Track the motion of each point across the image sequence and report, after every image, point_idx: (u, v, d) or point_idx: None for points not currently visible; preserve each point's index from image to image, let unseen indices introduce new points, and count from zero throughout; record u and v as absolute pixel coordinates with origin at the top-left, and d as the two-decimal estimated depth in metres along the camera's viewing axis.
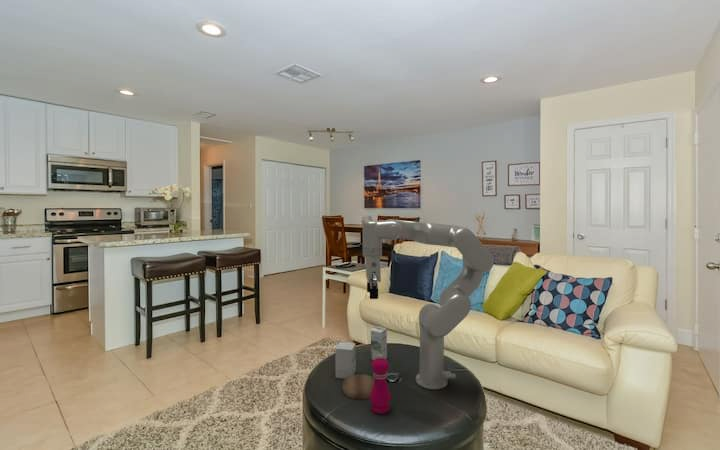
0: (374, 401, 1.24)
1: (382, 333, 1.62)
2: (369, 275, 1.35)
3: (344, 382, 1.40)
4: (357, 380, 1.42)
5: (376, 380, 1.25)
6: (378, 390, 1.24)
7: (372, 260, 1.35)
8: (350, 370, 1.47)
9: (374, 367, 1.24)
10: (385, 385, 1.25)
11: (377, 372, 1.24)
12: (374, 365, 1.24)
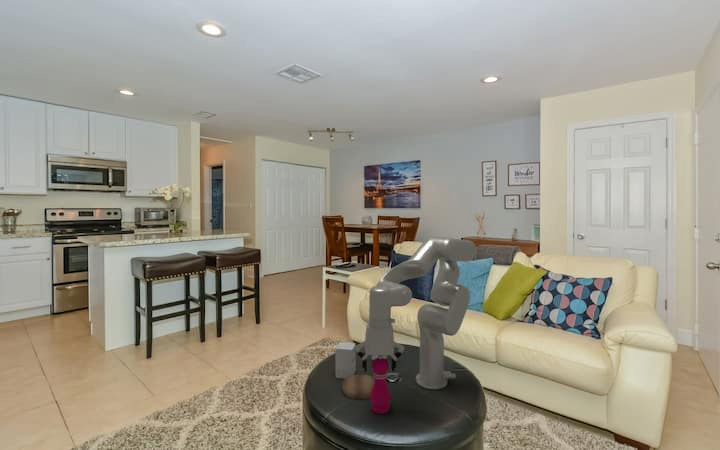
0: (374, 401, 1.24)
1: None
2: (393, 346, 1.23)
3: (344, 382, 1.40)
4: (357, 380, 1.42)
5: (376, 380, 1.25)
6: (378, 390, 1.24)
7: (392, 329, 1.24)
8: (350, 370, 1.47)
9: (374, 367, 1.24)
10: (385, 385, 1.25)
11: (377, 372, 1.24)
12: (374, 365, 1.24)
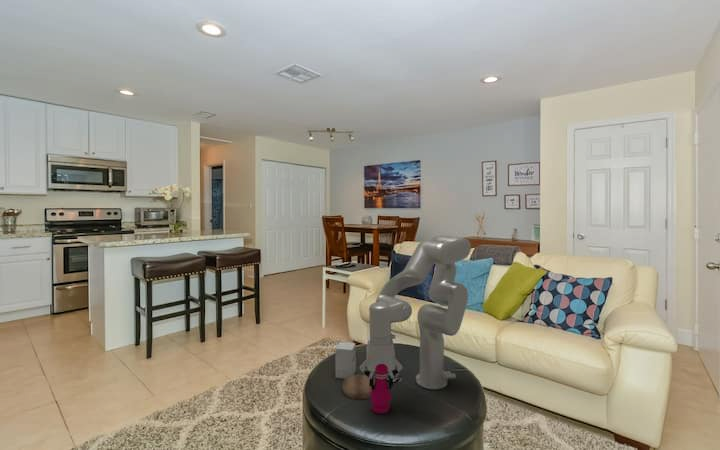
0: (374, 401, 1.24)
1: None
2: (395, 362, 1.24)
3: (344, 382, 1.40)
4: (357, 380, 1.42)
5: (377, 380, 1.25)
6: (378, 390, 1.24)
7: (393, 345, 1.25)
8: (350, 370, 1.47)
9: None
10: (385, 385, 1.25)
11: (378, 372, 1.24)
12: None
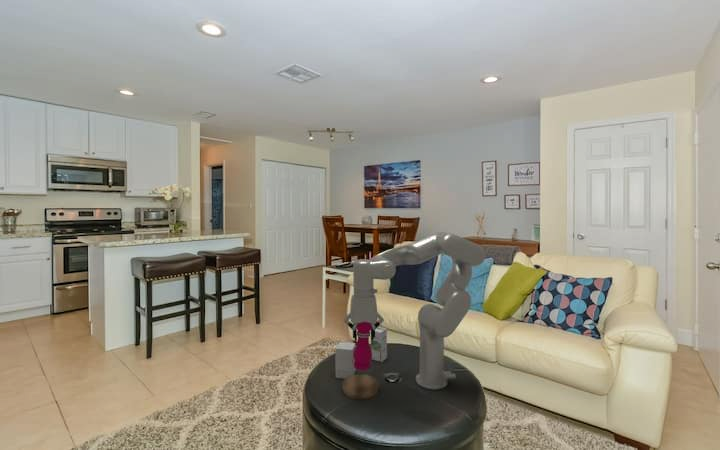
0: (356, 358, 1.33)
1: (382, 333, 1.62)
2: (376, 314, 1.33)
3: (344, 382, 1.40)
4: (357, 380, 1.42)
5: (359, 339, 1.34)
6: (360, 348, 1.33)
7: (375, 299, 1.34)
8: (350, 370, 1.47)
9: (358, 326, 1.33)
10: (367, 344, 1.34)
11: (361, 331, 1.32)
12: (358, 324, 1.33)
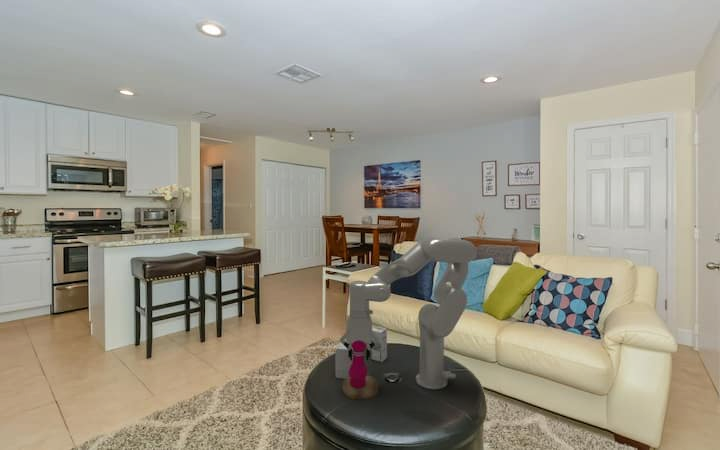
0: (352, 376, 1.36)
1: (382, 333, 1.62)
2: (371, 335, 1.36)
3: (344, 382, 1.40)
4: None
5: (354, 357, 1.37)
6: (355, 366, 1.36)
7: (371, 320, 1.37)
8: None
9: (353, 345, 1.36)
10: (362, 362, 1.37)
11: (355, 349, 1.36)
12: (353, 343, 1.36)
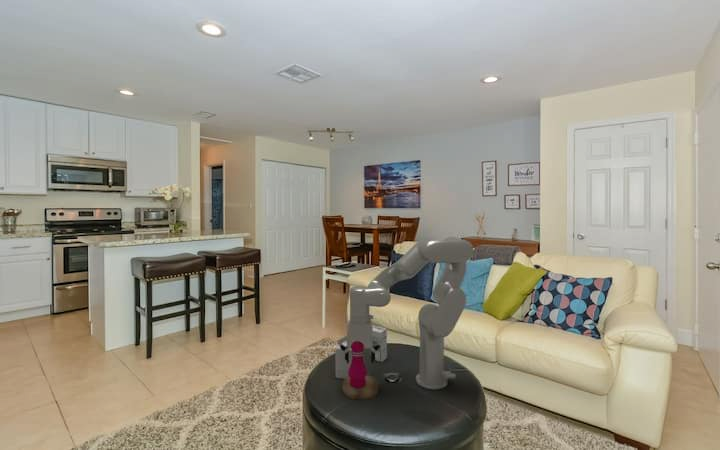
0: (351, 376, 1.36)
1: (382, 333, 1.62)
2: (372, 340, 1.37)
3: (344, 382, 1.40)
4: None
5: (353, 357, 1.37)
6: (355, 366, 1.36)
7: (371, 324, 1.37)
8: None
9: (351, 345, 1.36)
10: (362, 362, 1.37)
11: (354, 350, 1.36)
12: None
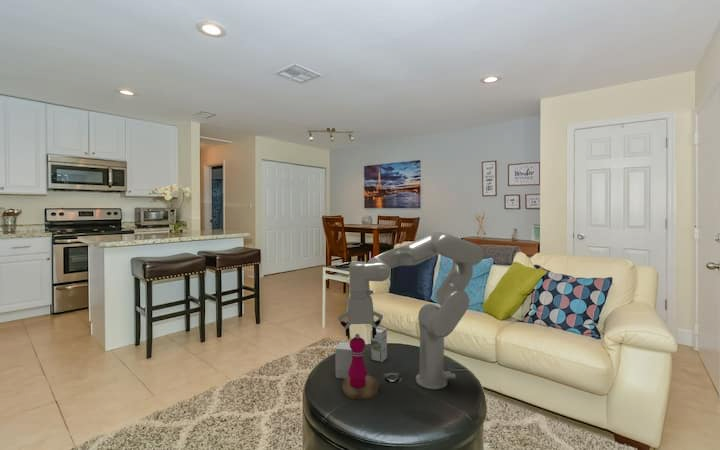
0: (351, 376, 1.36)
1: (382, 333, 1.62)
2: (373, 315, 1.36)
3: (344, 382, 1.40)
4: None
5: (353, 357, 1.37)
6: (355, 366, 1.36)
7: (371, 300, 1.37)
8: None
9: (351, 345, 1.36)
10: (362, 362, 1.37)
11: (354, 350, 1.36)
12: (351, 344, 1.36)
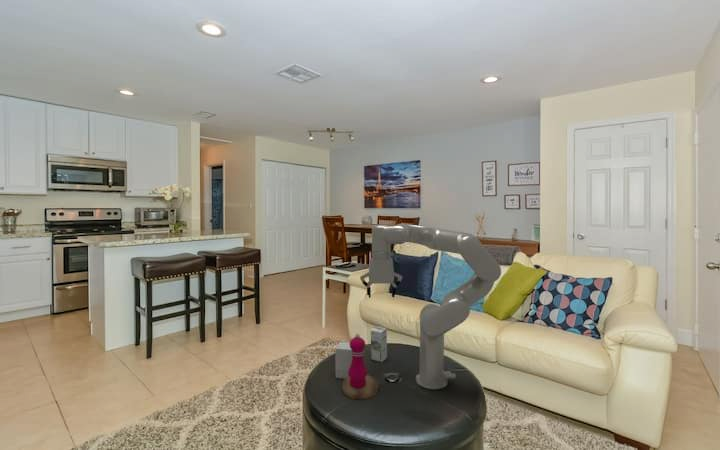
0: (351, 376, 1.36)
1: (382, 333, 1.62)
2: (393, 275, 1.44)
3: (344, 382, 1.40)
4: None
5: (353, 357, 1.37)
6: (355, 366, 1.36)
7: (392, 261, 1.45)
8: None
9: (351, 345, 1.36)
10: (362, 362, 1.37)
11: (354, 350, 1.36)
12: (351, 344, 1.36)
